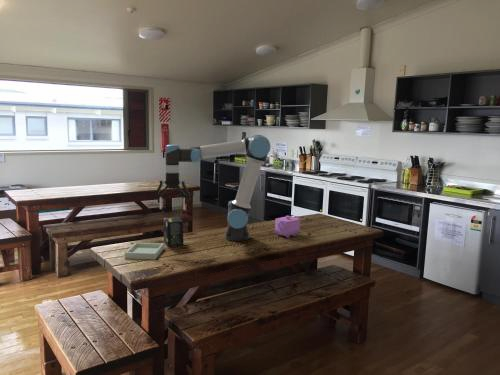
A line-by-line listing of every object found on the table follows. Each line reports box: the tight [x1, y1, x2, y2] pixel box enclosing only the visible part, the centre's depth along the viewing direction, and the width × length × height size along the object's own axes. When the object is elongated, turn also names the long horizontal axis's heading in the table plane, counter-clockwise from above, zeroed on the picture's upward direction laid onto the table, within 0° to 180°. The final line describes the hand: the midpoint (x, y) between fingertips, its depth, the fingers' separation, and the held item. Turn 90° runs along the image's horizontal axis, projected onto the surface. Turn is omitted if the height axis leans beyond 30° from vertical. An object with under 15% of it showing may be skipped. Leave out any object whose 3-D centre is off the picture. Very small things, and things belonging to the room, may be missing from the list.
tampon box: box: [163, 216, 184, 248], centre depth 246 cm, size 11×9×15 cm
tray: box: [124, 242, 165, 260], centre depth 228 cm, size 16×18×3 cm
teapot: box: [274, 215, 301, 239], centre depth 268 cm, size 20×10×12 cm, turn 131°
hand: (172, 209), depth 243 cm, fingers open, 13 cm apart
